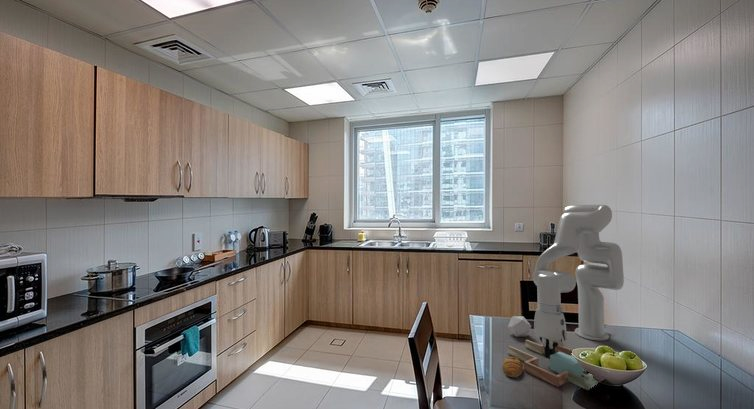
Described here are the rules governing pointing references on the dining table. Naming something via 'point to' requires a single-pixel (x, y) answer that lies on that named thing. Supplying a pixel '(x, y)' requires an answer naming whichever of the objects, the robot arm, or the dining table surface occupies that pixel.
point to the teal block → (565, 363)
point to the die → (519, 326)
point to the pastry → (512, 367)
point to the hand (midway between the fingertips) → (549, 357)
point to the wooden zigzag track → (556, 380)
